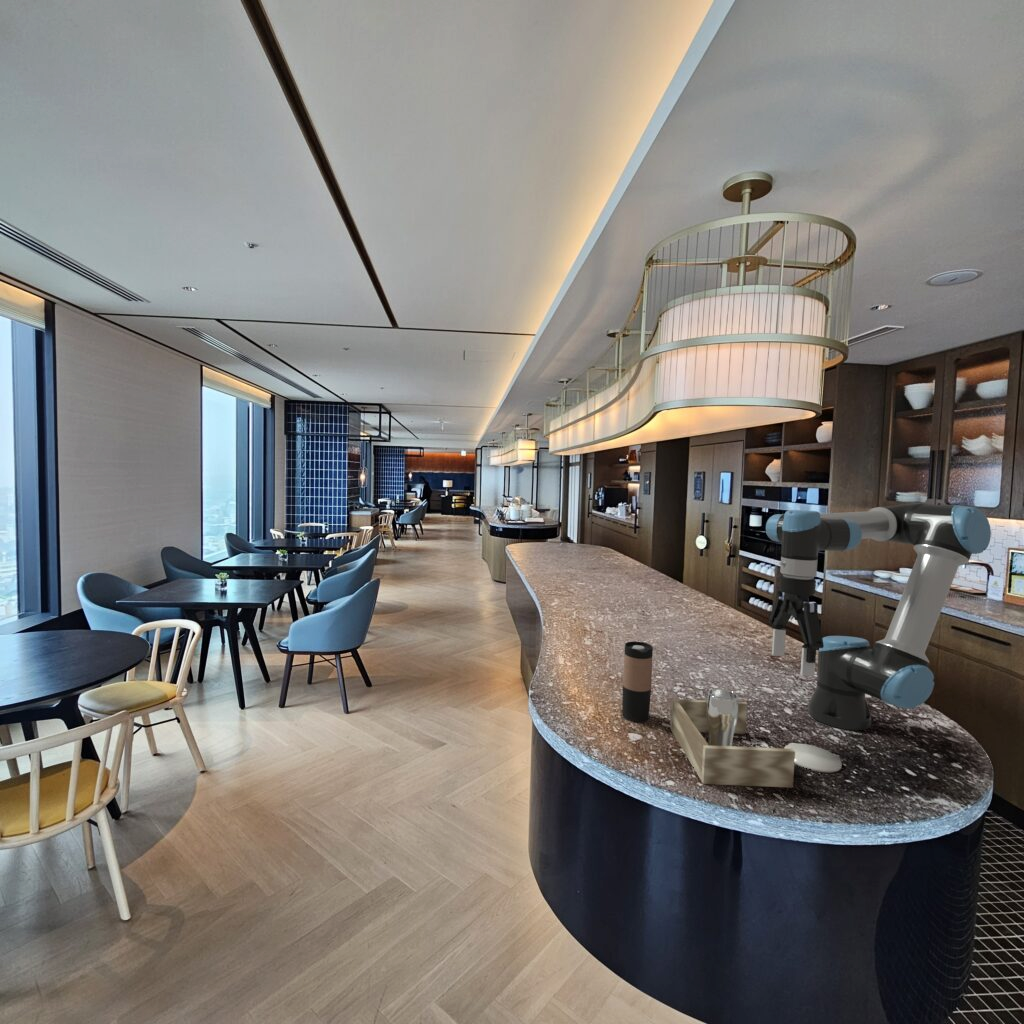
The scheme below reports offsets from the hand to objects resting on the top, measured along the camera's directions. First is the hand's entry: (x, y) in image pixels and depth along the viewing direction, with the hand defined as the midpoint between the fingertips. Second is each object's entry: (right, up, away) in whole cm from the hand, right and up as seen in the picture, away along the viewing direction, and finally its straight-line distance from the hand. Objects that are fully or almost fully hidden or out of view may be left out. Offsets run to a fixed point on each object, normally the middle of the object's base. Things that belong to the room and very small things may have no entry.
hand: (791, 665), depth 125 cm
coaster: (+5, -23, +1) cm, 23 cm away
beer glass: (-17, -22, +2) cm, 28 cm away
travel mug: (-32, -21, +21) cm, 43 cm away
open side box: (-15, -22, +1) cm, 26 cm away
